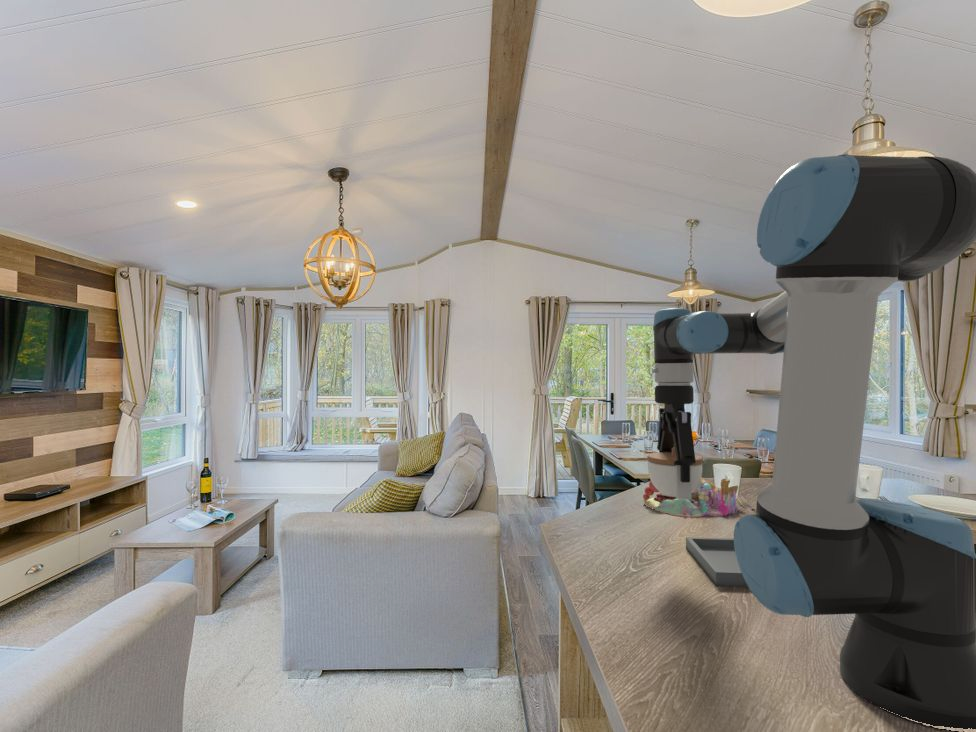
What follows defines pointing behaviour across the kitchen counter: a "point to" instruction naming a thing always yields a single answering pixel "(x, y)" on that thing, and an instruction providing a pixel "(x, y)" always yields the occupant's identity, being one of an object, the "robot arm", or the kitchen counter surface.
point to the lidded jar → (670, 472)
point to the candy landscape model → (696, 500)
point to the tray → (717, 559)
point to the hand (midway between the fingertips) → (675, 491)
